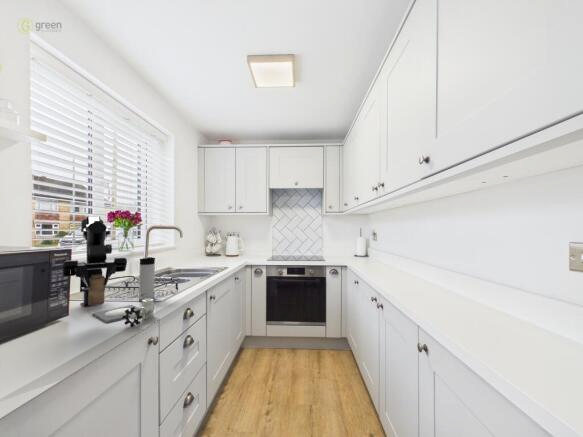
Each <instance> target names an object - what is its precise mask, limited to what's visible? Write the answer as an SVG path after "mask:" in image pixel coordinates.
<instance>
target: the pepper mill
mask: <svg viewBox="0 0 583 437" xmlns="http://www.w3.org/2000/svg"><path fill="white" fill-rule="evenodd" d="M103 276H104V275H103V273H102V274H97V275H92V276H91V278H89V294H88V305H91V306H100V305H103V304H105V291H106V290H105V289H106V285H105V277H106V276H104V277H103ZM91 306H90V307H91Z"/></svg>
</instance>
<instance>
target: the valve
mask: <svg viewBox="0 0 583 437" xmlns="http://www.w3.org/2000/svg"><path fill="white" fill-rule="evenodd" d="M154 300H155V299H145V300H143V301H142V302H141V304H142V306H141V307H139V308H140V309H138V310H137V311H135V310H134V309H135V307H132V308H131V309H130V310H131V311H129V309H127V310H125V313H126V315H124V316H123V317H122V318H123V319H122V320H125V322H124V325H129V327H130V328H134V327H135V325H140V324H141V321H140V320H142V319H144V320H147V319H151V318H153V317H154V310H155V306H154ZM132 312H133V313H132ZM129 314H131V316H130V318H128V315H129ZM131 320H133V321H131Z"/></svg>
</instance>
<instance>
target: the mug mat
mask: <svg viewBox="0 0 583 437" xmlns="http://www.w3.org/2000/svg"><path fill="white" fill-rule="evenodd" d="M132 307H135V309H134V310H135V311H137V310H138V309H140V308H141V307H138V306H135V305H133V304H129V305H124V306H120V307H114V308H111V309H106V310H101V311H95V312H92V315H91V316H93V317H95V318H96V319H98V320H99V321H102V322H103V323H105V324H110V323H113V322H117V321H121V320H124V319H123V318H122V317H123V316H124V315H126V313H125V310H127V309H129V311H131V310H130V309H131V308H132ZM132 313H133V312H132ZM130 316H131V314H129V315H128V318H129V319H130Z"/></svg>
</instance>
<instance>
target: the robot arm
mask: <svg viewBox="0 0 583 437" xmlns="http://www.w3.org/2000/svg"><path fill="white" fill-rule="evenodd" d="M80 225H81V228H80V232H81V233H82V238H84V239H85V240H86V262H85V261H83V262H82V261H81V262H80V261H79V260H78V259H75V260H74V259H73V260H65V261H64V262H63V264H62V265H63V266H62V276H63V277H73V276H74V277H76V278H79V280H80V281H79V293H83V300H82V301H83V302H80V305H81V306H83V307H85V308H86V307H91V305H88V294H89V278H91V276H92V275H97V274H102V275H103V269H105V275H103V277H105V286H107V284H108V282H109V279H110V278H111V276H112V275H115V274H116V273H121V272H125V271H126V269H127V265H128V259H127V258H126V257H115V258H113V261H111V262H110V261H107V255H109V254H110V255H111V254H112V252H113V245H112V244H111V243H109V244H106V243H105V240H106V239H107V237H108V235H110V230H108V227H107V225H106V224H105V223H104V221H103V219H101V216H100V215H91V214H90V215H86V218H85V219H83V220H81V224H80ZM70 270H71V274H70Z"/></svg>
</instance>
